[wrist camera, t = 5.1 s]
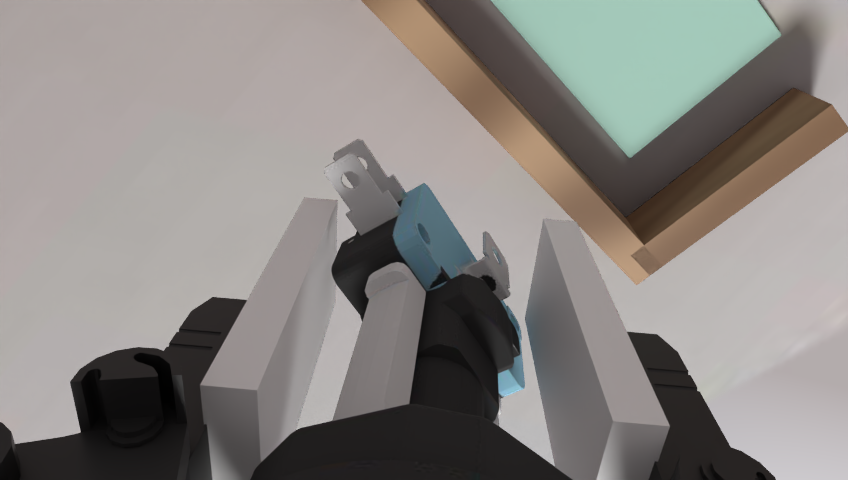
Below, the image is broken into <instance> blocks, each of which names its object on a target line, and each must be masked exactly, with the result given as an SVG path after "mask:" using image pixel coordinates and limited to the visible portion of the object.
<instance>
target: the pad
mask: <svg viewBox="0 0 848 480" xmlns="http://www.w3.org/2000/svg"><path fill="white" fill-rule="evenodd" d="M491 1H492V3H493V4H494V5H495V6H496V7H497V8H498V9H499V11H500V12H501V13H502V14H503V15H504V16H505V17H506V19H507V20H508V21H509V22H510V23H511V24H512V25H513V27H514V28H515V29H516V30H517V31H518V32H519V33H520V34H521V36H522V37H523V38H524V39H525V40H526V41H527V42H528V44H529V45H530V46H531V47H532V48H533V49H534V50H535V52H536V53H537V54H538V55H539V56H540V57H541V58H542V59H543V61H544V62H545V63H546V64H547V65H548V66H549V67H550V69H551V70H552V71H553V72H554V73H555V74H556V75H557V77H558V78H559V79H560V80H561V81H562V82H563V83H564V84H565V86H566V87H567V88H568V89H569V90H570V91H571V92H572V94H573V95H574V96H575V97H576V98H577V99H578V100H579V102H580V103H581V104H582V105H583V106H584V107H585V108H586V109H587V111H588V112H589V113H590V114H591V115H592V116H593V117H594V119H595V120H596V121H597V122H598V123H599V124H600V125H601V127H602V128H603V129H604V130H605V131H606V132H607V133H608V134H609V136H610V137H611V138H612V139H613V140H614V141H615V142H616V144H617V145H618V146H619V147H620V148H621V149H622V150H623V152H624V153H625V154H626V155H627V156H628V157H629V158H631V157H632V156H634V155H635V154H636V153H637V152H638V151H640V150H641V149H642V148H643V147H645V146H646V145H647V144H648V143H650V142H651V141H652V140H653V139H654V138H656V137H657V136H658V135H659V134H661V133H662V132H663V131H664V130H666V129H667V128H668V127H669V126H670V125H672V124H673V123H674V122H675V121H677V120H678V119H679V118H680V117H682V116H683V115H684V114H685V113H686V112H688V111H689V110H690V109H691V108H693V107H694V106H695V105H696V104H698V103H699V102H700V101H701V100H702V99H704V98H705V97H706V96H707V95H709V94H710V93H711V92H712V91H714V90H715V89H716V88H717V87H718V86H720V85H721V84H722V83H723V82H725V81H726V80H727V79H728V78H730V77H731V76H732V75H733V74H735V73H736V72H737V71H738V70H739V69H741V68H742V67H743V66H744V65H746V64H747V63H748V62H749V61H751V60H752V59H753V58H754V57H755V56H757V55H758V54H759V53H760V52H762V51H763V50H764V49H765V48H767V47H768V46H769V45H770V44H771V43H773V42H774V41H775V40H776V39H778V38H779V37H780V36H781V33H780V32H779V30H778V29H777V28H776V26H775V25H774V23H773V22H772V21H771V19H770V18H769V16H768V15H767V13H766V12H765V11H764V9H763V8H762V6H761V5H760V3H759V2H758V1H757V0H491Z"/></svg>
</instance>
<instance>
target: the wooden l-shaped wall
mask: <svg viewBox="0 0 848 480" xmlns="http://www.w3.org/2000/svg"><path fill="white" fill-rule="evenodd" d="M362 1H363V3H364V4H365V5H366V6H367V7H368V8H369V9H370V10H371V11H372V12H373V13H374V14H375V15H376V16H377V17H378V18H379V19H380V20H381V21H382V22H383V23H384V24H385V25H386V26H387V27H388V28H389V29H390V30H391V32H392V33H393V34H394V35H395V36H396V37H397V38H398V39H399V40H400V41H401V42H402V43H403V44H404V45H405V46H406V47H407V48H408V49H409V50H410V51H411V52H412V53H413V54H414V55H415V56H416V57H417V58H418V59H419V61H420V62H421V63H422V64H423V65H424V66H425V67H426V68H427V69H428V70H429V71H430V72H431V73H432V74H433V75H434V76H435V77H436V78H437V79H438V80H439V81H440V82H441V83H442V84H443V85H444V86H445V87H446V88H447V89H448V91H449V92H450V93H451V94H452V95H453V96H454V97H455V98H456V99H457V100H458V101H459V102H460V103H461V104H462V105H463V106H464V107H465V108H466V109H467V110H468V111H469V112H470V113H471V114H472V115H473V116H474V117H475V118H476V120H477V121H478V122H479V123H480V124H481V125H482V126H483V127H484V128H485V129H486V130H487V131H488V132H489V133H490V134H491V135H492V136H493V137H494V138H495V139H496V140H497V141H498V142H499V143H500V144H501V145H502V146H503V147H504V149H505V150H506V151H507V152H508V153H509V154H510V155H511V156H512V157H513V158H514V159H515V160H516V161H517V162H518V163H519V164H520V165H521V166H522V167H523V168H524V169H525V170H526V171H527V172H528V173H529V174H530V175H531V176H532V178H533V179H534V180H535V181H536V182H537V183H538V184H539V185H540V186H541V187H542V188H543V189H544V190H545V191H546V192H547V193H548V194H549V195H550V196H551V197H552V198H553V199H554V200H555V201H556V202H557V203H558V204H559V205H560V206H561V208H562V209H563V210H564V211H565V212H566V213H567V214H568V215H569V216H570V217H571V218H572V219H573V220H574V221H575V222H577V224H578V225H579V226H580V227H581V228H582V229H583V230H584V231H585V232H586V233H587V234H588V235H589V237H590V238H591V239H592V240H593V241H594V242H595V243H596V244H597V245H598V246H599V247H600V248H601V249H602V250H603V251H604V252H605V253H606V254H607V255H608V256H609V257H610V258H611V259H612V260H613V261H614V262H615V263H616V264H617V266H618V267H619V268H620V269H621V270H622V271H623V272H624V273H625V274H626V275H627V276H628V277H629V278H630V279H631V280H632V281H633V282H634V283H635V284H636V285H637V284H639V283H640V282H642V281H643V280H644V279H646V278H647V277H648V276H650V275H651V274H653V273H654V272H655V271H657V270H658V269H659V268H661V267H662V266H664V265H665V264H666V263H668V262H669V261H670V260H672V259H673V258H675V257H676V256H677V255H679V254H680V253H682V252H683V251H684V250H686V249H687V248H688V247H690V246H691V245H693V244H694V243H695V242H697V241H698V240H699V239H701V238H702V237H704V236H705V235H706V234H708V233H709V232H710V231H712V230H713V229H715V228H716V227H717V226H719V225H720V224H721V223H723V222H724V221H726V220H727V219H728V218H730V217H731V216H732V215H734V214H735V213H737V212H738V211H739V210H741V209H742V208H743V207H745V206H746V205H748V204H749V203H750V202H752V201H753V200H754V199H756V198H757V197H759V196H760V195H761V194H763V193H764V192H765V191H767V190H768V189H770V188H771V187H772V186H774V185H775V184H776V183H778V182H779V181H781V180H782V179H783V178H785V177H786V176H787V175H789V174H790V173H792V172H793V171H794V170H796V169H797V168H799V167H800V166H801V165H803V164H804V163H805V162H807V161H808V160H810V159H811V158H812V157H814V156H815V155H816V154H818V153H819V152H821V151H822V150H823V149H825V148H826V147H827V146H829V145H830V144H832V143H833V142H834V141H836V140H837V139H838V138H840V137H841V136H843V135H844V134H845V133H847V132H848V127H847V125H846V124H845V122H844V121H843V120H842V118H841V117H840V115H839V114H838V112H837V111H836V110H835V108H834V107H833V105H832V104H830V103H827V102H825V101H823V100H820V99H818V98H816V97H813V96H811V95H809V94H807V93H804V92H802V91H800V90H797V89H795V88H793V89H791V90H790V91H789V92H787V93H786V94H785V95H784V96H782V97H781V98H780V99H778V100H777V101H776V102H774V103H773V104H772V105H771V106H769V107H768V108H767V109H765V110H764V111H763V112H762V113H760V114H759V115H758V116H756V117H755V118H754V119H753V120H751V121H750V122H749V123H747V124H746V125H745V126H744V127H742V128H741V129H740V130H738V131H737V132H736V133H735V134H733V135H732V136H731V137H729V138H728V139H727V140H725V141H724V142H723V143H722V144H720V145H719V146H718V147H716V148H715V149H714V150H713V151H711V152H710V153H709V154H707V155H706V156H705V157H704V158H702V159H701V160H700V161H698V162H697V163H696V164H695V165H693V166H692V167H691V168H689V169H688V170H687V171H686V172H684V173H683V174H682V175H680V176H679V177H678V178H677V179H675V180H674V181H673V182H671V183H670V184H669V185H667V186H666V187H665V188H664V189H662V190H661V191H660V192H658V193H657V194H656V195H655V196H653V197H652V198H651V199H649V200H648V201H647V202H646V203H644V204H643V205H642V206H640V207H639V208H638V209H637V210H635V211H634V212H633V213H631V214H630V215H629V216H628V217H626V218H625V217H624V215H623V214H622V213H621V212H620V211H619V210H618V209H617V208H616V207H615V206H614V205H613V204H612V202H611V201H610V200H609V199H608V198H607V197H606V196H605V195H604V194H603V193H602V192H601V191H600V189H599V188H598V187H597V186H596V185H595V184H594V183H593V182H592V181H591V180H590V179H589V178H588V176H587V175H586V174H585V173H584V172H583V171H582V170H581V169H580V168H579V167H578V166H577V165H576V163H575V162H574V161H573V160H572V159H571V158H570V157H569V156H568V155H567V154H566V153H565V152H564V150H563V149H562V148H561V147H560V146H559V145H558V144H557V143H556V142H555V141H554V140H553V139H552V138H551V136H550V135H549V134H548V133H547V132H546V131H545V130H544V129H543V128H542V127H541V126H540V125H539V123H538V122H537V121H536V120H535V119H534V118H533V117H532V116H531V115H530V114H529V113H528V112H527V110H526V109H525V108H524V107H523V106H522V105H521V104H520V103H519V102H518V101H517V100H516V99H515V97H514V96H513V95H512V94H511V93H510V92H509V91H508V90H507V89H506V88H505V87H504V86H503V84H502V83H501V82H500V81H499V80H498V79H497V78H496V77H495V76H494V75H493V74H492V73H491V71H490V70H489V69H488V68H487V67H486V66H485V65H484V64H483V63H482V62H481V61H480V60H479V58H478V57H477V56H476V55H475V54H474V53H473V52H472V51H471V50H470V49H469V48H468V47H467V45H466V44H465V43H464V42H463V41H462V40H461V39H460V38H459V37H458V36H457V35H456V34H455V32H454V31H453V30H452V29H451V28H450V27H449V26H448V25H447V24H446V23H445V22H444V21H443V19H442V18H441V17H440V16H439V15H438V14H437V13H436V12H435V11H434V10H433V9H432V8H431V6H430V5H429V4H428V3H427V2H426V1H425V0H362Z"/></svg>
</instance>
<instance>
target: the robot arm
mask: <svg viewBox="0 0 848 480" xmlns="http://www.w3.org/2000/svg"><path fill="white" fill-rule="evenodd" d="M337 201H338V200H328V199H316V198H305V197H304V199H303V201H302V203H301V204H300V206H299V208H298V210H297V212H296V213H295V215H294V217H293V219H292V221H291V222H290V224H289V226H288V228H287V230H286V231H285V233H284V235H283V237H282V239H281V240H280V242H279V244H278V246H277V248H276V249H275V251H274V253H273V255H272V257H271V258H270V260H269V262H268V264H267V266H266V267H265V269H264V271H263V273H262V275H261V276H260V278H259V280H258V282H257V283H256V285H255V287H254V289H253V291H252V292H251V294H250V296H249V298H248V300H240V299H229V298H217V297H212V298H211V299H209V300H208V301H206V302H205V303H203V304H202V305H200V306H199V307H197V308H195V309H194V310H192V311H191V313H190V314H189V315H188V317H187V318H186V320H185V321H184V323H183V324H182V326H181V327H180V328H179V332H177V333H176V334H175V336H174V337H173V339H172V340H171V341H170V343H169V347H166V349H165V350H164V351H162V350H159V349H156V348H140V347H137V348H130V349H124V350H118V351H114V352H112V353H109V354H106V355H104V356H101V357H98V358H96V359H95V360H93V361H92V362H90V363H89V364H87V365H86V366H84V367H83V368H81V369H80V370H79V371H78V373H77V374H76V375H75V376H74V378H73V379H72V380H71V381H70V384H71V388H72V393H73V397H74V402H75V406H76V411H77V416H78V420H79V425H80V429H81V433H78V434H74V435H69V436H65V437H60V438H53V439H47V440H40V441H33V442H26V443H20V444H15V443H14V440H13V436H12V433H11V431H10V430H9V429H8V428H7V427H6V426H5V425H4V424H3V423H1V422H0V480H250V479H251V477H252V475H253V472H254V470H255V469H256V467H257V466H258V465H259V464H260V463H261V462H262V461H263V460H264V459H265V458H266V457H267V456H268V455H269V454H270V453H271V452H272V451H273V450H274V449H276V448H277V447H278V446H279V445H280V444H281V443H282V442H283V441H284V440H285V439H286V438H287V437H288V436H289V435H290V434H291V433H293V432H294V431H295V430H296V427H297V424H298V421H299V417H300V414H301V411H302V408H303V405H304V401H305V398H306V395H307V392H308V388H309V385H310V382H311V379H312V376H313V372H314V369H315V366H316V363H317V359H318V356H319V353H320V350H321V347H322V343H323V340H324V337H325V334H326V330H327V327H328V324H329V321H330V318H331V314H332V311H333V308H334V305H335V295H336V283H335V281H334V279H333V276H332V272H331V268H332V264H333V262H334V260H335V258H336V248H337ZM525 321H526V326H527V331H528V336H529V341H530V345H531V350H532V355H533V360H534V365H535V370H536V375H537V380H538V385H539V389H540V394H541V399H542V404H543V409H544V414H545V419H546V424H547V429H548V434H549V438H550V443H551V448H552V453H553V458H554V463H555V467H556V468H557V469H558V470H560V471H561V472H563V473H564V474H565V475H567V476H568V477H570V478H571V479H572V480H776V479H775V477H774V476H773V475H772V474H771V473H770V472H769V471H768V470H767V469H766V468H765V467H764V466H763V465H762V464H761V463H760V462H758V461H756V460H755V459H753V458H751V457H750V456H748V455H747V454H745V453H743V452H742V451H739V450H736V449H734V448H731V447H730V446H729V443H728V442H727V440H726V438H725V436H724V435H723V433H722V431H721V429H720V427H719V426H718V424H717V422H716V420H715V419H714V417H713V415H712V413H711V411H710V409H709V408H708V406H707V404H706V402H705V400H704V399H703V397H702V395H701V393H700V392H699V391H697V386H696V384H695V383H694V381H693V379H692V377H691V375H688V370H687V368H686V366H685V365H684V363H683V361H682V359H681V357H680V356H679V354H678V352H677V351H676V350H674V349H673V348H672V347H671V346H670V345H669V344H668V343H666V342H665V341H664V340H663V339H662V338H661V337H660V336H658V335H657V334H646V333H634V332H627V331H626V329H625V327H624V325H623V322H622V320H621V318H620V316H619V314H618V311H617V309H616V307H615V305H614V303H613V301H612V298H611V296H610V294H609V292H608V290H607V287H606V285H605V283H604V281H603V279H602V277H601V274H600V272H599V270H598V268H597V266H596V263H595V261H594V259H593V257H592V255H591V252H590V250H589V248H588V246H587V244H586V242H585V239H584V237H583V235H582V233H581V231H580V228H579V226H578V224H577V222H574V221H563V220H552V219H543V224H542V229H541V235H540V240H539V246H538V251H537V256H536V262H535V267H534V273H533V278H532V284H531V289H530V294H529V300H528V305H527V311H526V316H525Z"/></svg>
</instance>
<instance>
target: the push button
mask: <svg viewBox="0 0 848 480" xmlns="http://www.w3.org/2000/svg"><path fill="white" fill-rule="evenodd" d="M358 157H361V158H363V159H364V160H365V161H366V162H367V165H368V166H367V170H366V169H365V167H364V166H363V164H362V163H361V162H360V160H359V159H358ZM333 159H334V160H335V162H333V163H331V164H330V165H328V166H326V167H325V170H324V174H325V175H326V177H327V178H328V180H329V181H330V182H331V184H332V185H333V187H334V188H335V189H336V191H337V192H338V193H339V195H340V196H341V198H342V199H343V200H344V202H345V203H346V205H347V206H348V207H349V209H350V210H351V211H349V212H348V213H346V216H347V217H348V218H349V220H350V221H351V223H352V224H353V225H354V227H355V228H356V229H357V232H356V235H355V236H353V237H351V238H350V239H348V240H346V241H344V242H343V243H342V244H341V246H340V249H339V251H338V253H337V255H336V258H335V260H334V262H333V264H332V268H331V272H332V276H333V279H334V281H335V283H336V284H337V286H338V287H339V288H340V289H341V291H342V292H343V293H344V295H345V296H346V297H347V299H348V300H349V301H350V302H351V304H352V305H353V306H354V308H355V309H356V310H357V312H358V313H359V314H360V316H361V319H362V325H361V328H360V331H359V335H358V338H357V341H356V345H355V348H354V351H353V355H352V358H351V361H350V364H349V368H348V371H347V374H346V378H345V381H344V384H343V388H342V391H341V394H340V397H339V401H338V404H337V407H336V411H335V414H334V417H333V421H330V422H326V423H321V424H317V425H312V426H308V427H304V428H300V429H298V430H296V431H294V432H293V433H291V434H290V435H289V436H288V437H287V438H286V439H285V440H284V441H283V442H282V443H281V444H280V445H279V446H278V447H277V448H276V449H274V450H273V451H272V452H271V453H270V454H269V455H268V456H267V457H266V458H265V459H264V460H263V461H262V462H261V463H260V464H259V465H258V466H257V467H256V469H255V470H254V472H253V475H252V477H251V479H250V480H572V479H571V478H570V477H568V476H567V475H565V474H564V473H563V472H561V471H560V470H558V469H557V468H556V467H554V466H553V465H552V464H550V463H549V462H547V461H546V460H545V459H543V458H542V457H540V456H539V455H538V454H536V453H535V452H534V451H532V450H531V449H529V448H528V447H527V446H525V445H524V444H522V443H521V442H520V441H518V440H517V439H515V438H514V437H513V436H511V435H510V434H509V433H507V432H506V431H504V430H503V429H502V428H500V427H499V416H500V413H501V400H500V398H503V397H505V396H507V395H510V394H512V393H514V392H517V391H519V390H522V389H524V387H525V381H524V371H523V361H522V350H521V340H522V337H521V330H520V326H519V324H518V321H517V320H516V318H515V316H514V314H513V313H512V311H511V310H510V308H509V307H508V306H506V304H505V303H504V301H503V299H505V298H507V297H509V296H510V292H509V290H508V288H510V285H509V272H508V265H507V263H506V260H505V258H504V256H503V255H502V253H501V252H500V250H499V249H498V247H497V245H496V244H495V242H494V241H493V239H492V237H491V236H490V234H489V233H487V232H484V233H483V254H484V255H485V257H483V258H482V259H481V260H479V261H477V260H476V258H475V257H474V255H473V254H472V252H471V251H470V249H469V248H468V246H467V245H466V243H465V241H464V240H463V238H462V237H461V235H460V234H459V232H458V231H457V229H456V228H455V226H454V225H453V223H452V222H451V220H450V219H449V217H448V215H447V214H446V212H445V211H444V209H443V208H442V206H441V205H440V203H439V202H438V200H437V199H436V197H435V196H434V194H433V192H432V191H431V190H430V188H429V187H428V186H427V185H426V184H425V183H423V184H422V185H420V186H418V187H416V188H414V189H413V190H411V191H409V192H407V193H406V192H405V191H404V189H403V188H402V186H401V185H400V183H399V182H398V180H397V179H396V177H395V176H394V174H393V175H391V176H390V177H387V175H386V174H385V172H384V171H383V169H382V168H381V166H380V165H379V163H378V162H377V161H376V159H375V158H374V156H373V155H372V153H371V152H370V150H369V149H368V147H367V146H366V144H365V143H364V141H363V140H360V139H357V140H355V141H353V142H352V143H350V144H349V145H347V146H345V147H344V148H342V149H340V150H339V151H337V152H335V153H334V158H333ZM343 174H344V175H345V176H346V177H347V179H348V180H349V182H350V183H351V184H352V186H353V187H354V188H348V187H346V186H345V185H344V184H343V182H342V175H343ZM493 252H494V253H495V255H496V257H497V259H498V261H499V263H498V262H497V260H496V258H495V256H494V253H493Z"/></svg>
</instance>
